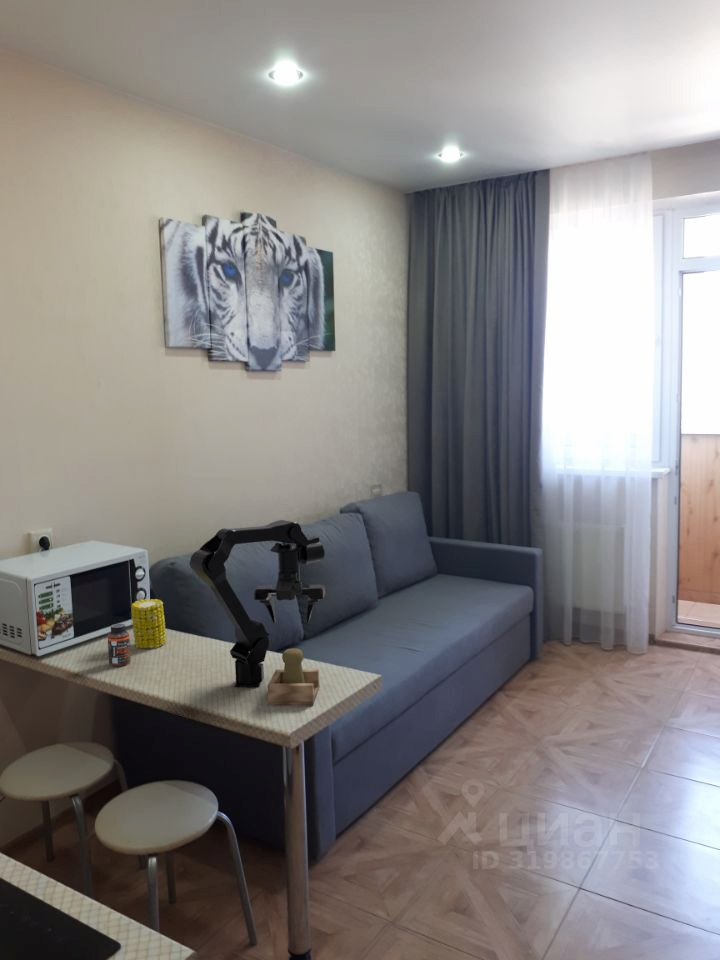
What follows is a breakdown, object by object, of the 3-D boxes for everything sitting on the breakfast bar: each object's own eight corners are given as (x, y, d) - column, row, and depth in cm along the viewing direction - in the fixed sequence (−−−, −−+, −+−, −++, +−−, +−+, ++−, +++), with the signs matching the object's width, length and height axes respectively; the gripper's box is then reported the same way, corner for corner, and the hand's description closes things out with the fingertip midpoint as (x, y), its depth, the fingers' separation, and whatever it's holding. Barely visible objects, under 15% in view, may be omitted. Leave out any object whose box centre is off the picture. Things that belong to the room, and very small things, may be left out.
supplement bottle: (118, 668, 209) (115, 629, 208) (104, 665, 213) (102, 626, 212) (135, 662, 214) (132, 624, 213) (121, 659, 218) (119, 621, 217)
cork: (311, 690, 186) (309, 648, 185) (296, 699, 181) (295, 655, 180) (291, 686, 190) (289, 644, 188) (277, 694, 184) (275, 651, 183)
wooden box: (267, 705, 180) (266, 686, 179) (277, 687, 192) (276, 668, 191) (313, 705, 179) (312, 686, 179) (319, 686, 191) (318, 668, 190)
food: (168, 644, 235) (158, 657, 225) (132, 637, 235) (120, 649, 225) (176, 599, 232) (166, 609, 222) (139, 591, 232) (127, 601, 223)
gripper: (248, 573, 194) (250, 632, 196) (319, 572, 193) (321, 631, 195) (257, 564, 206) (259, 620, 207) (324, 563, 204) (326, 619, 206)
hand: (291, 623), depth 203 cm, fingers open, 9 cm apart
